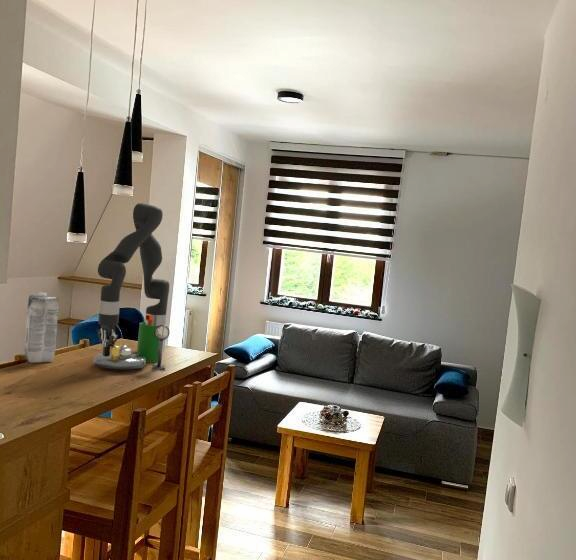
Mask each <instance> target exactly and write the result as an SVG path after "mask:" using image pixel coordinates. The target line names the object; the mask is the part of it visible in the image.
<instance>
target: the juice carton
mask: <svg viewBox="0 0 576 560" xmlns="http://www.w3.org/2000/svg"><path fill="white" fill-rule="evenodd" d="M27 300H28V303H27V311H26V322H25V323H26V324H25V336H24V337H25V338H24V340H25V341H24V355H25V356H24V357H25V359H26V360H27V361H28V362H29V363H33V364H34V363H37V364H38V363H52V362H53V360H54V357H55V353H56V342H57V330H58V318H59V317H58V316H59V298H57V297H55V296H54V295H47V292H38V295H34V294H33V295H32V294H31V295H29V296H28V299H27Z"/></svg>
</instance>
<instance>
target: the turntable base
mask: <svg viewBox="0 0 576 560" xmlns="http://www.w3.org/2000/svg"><path fill="white" fill-rule="evenodd" d="M107 369H109V370H114V371H129V369H111V368H107Z"/></svg>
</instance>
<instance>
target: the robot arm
mask: <svg viewBox="0 0 576 560" xmlns="http://www.w3.org/2000/svg"><path fill="white" fill-rule="evenodd" d="M132 211H133V212H132V220H133V223H134V224H133V225H134V228H135V230H134V231H133V232H131V233H129V234H128V235H126V236H124V237H123V238H122V239H121V240H120V241H119V243H118V244H117V245H116V247H115V249H114V250H113V251H111V252H110V253H109V254H107V255H106V256H105V257H104V258H103V259H102V260H101V261H100V263H98V267H97V274H98V275H99V276H100V278H103V279H106V280H107V279H109V280H111V281H110V284H104V285H102V286H101V289H100V301H99V306H98V307H99V308H98V320H97V321H98V322H97V323H98V324H99V325H100V329H97V336H98V339H99V342H100V343H99V344H101V345H102V353H103V356H105V357H107V356H110V352H111V347H112V346H115V344H116V343H117V340H118V339H119V335H118V334H116V326H118V325H119V321H120V320H119V319H120V295H121V294H120V293H121V289H122V286H123V282H124V281H125V278H126V274H127V269H126V268H127V267H126V265H125V264H127V263H129V262H130V261H131V259H132V257H133V256H134V254H135V253H136V251H137V250H138V249H139V256H140V261H141V266H142V275H143V290H144V295H145V297H146V298H147V299H152V300H159V301H158V303H156V304H154V305H149V306H147V307H146V309H145V318H144V319H146V315H147V314H150V315H153V325H154V326H159V325H165V326H166V321H167V319H166V318H167V310H168V300H169V294H170V281H169V280H167V279H159V278H153V275H154V273H155V272H156V271H157V269H158V268H159V267H160V266H161V264H162V261H163V253H162V247H161V245H160V242H159V241H158V240H157V238H156V237H155V235H154V234H153V233H154V232H155V231H156V230H157V228H158V227H160V224H161V223H162V220H163V215H164V214H163V210H162V209H161V208H160V207H159V206H155V205H153V204H152V205H151V204H148V203H142V202H139V203H136V205H135V206H134V207H133V210H132ZM144 322H146V325H148V320H145V321H144ZM165 345H166V339H165V340H163V349H162V352H163V351H165Z"/></svg>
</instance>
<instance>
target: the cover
mask: <svg viewBox="0 0 576 560" xmlns="http://www.w3.org/2000/svg"><path fill="white" fill-rule="evenodd" d="M118 346H120V348H119V359H131V354H133V353H132V352H133V351H132V350H133V348H132V347H128V345H125V344H121V345H118Z"/></svg>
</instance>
